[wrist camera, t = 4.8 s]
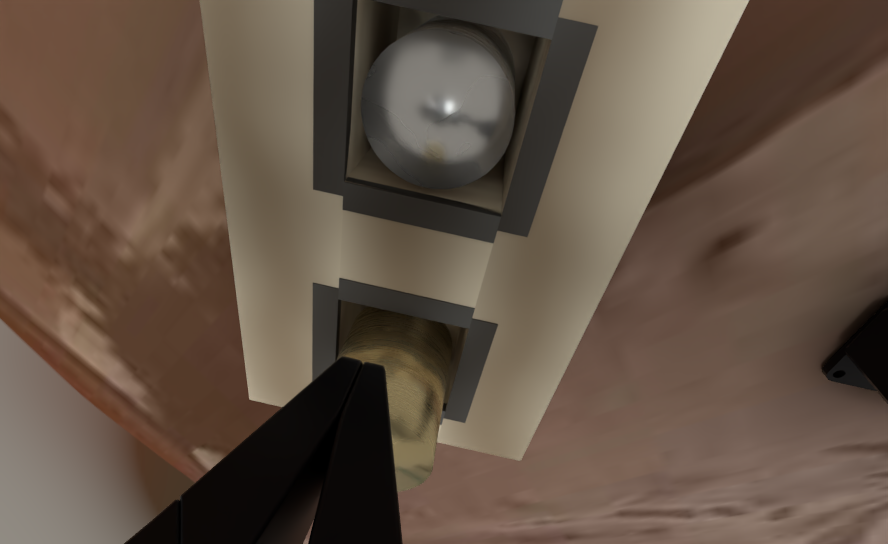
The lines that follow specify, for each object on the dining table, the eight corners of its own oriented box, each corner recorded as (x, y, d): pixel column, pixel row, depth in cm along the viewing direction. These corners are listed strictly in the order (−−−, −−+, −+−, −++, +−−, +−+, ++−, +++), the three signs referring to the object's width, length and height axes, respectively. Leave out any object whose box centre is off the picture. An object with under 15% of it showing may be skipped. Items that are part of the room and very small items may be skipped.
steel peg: (529, 25, 14) (534, 50, 10) (498, 144, 17) (493, 203, 13) (408, -1, 14) (366, 13, 10) (395, 121, 17) (356, 172, 13)
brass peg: (461, 313, 16) (443, 430, 12) (443, 384, 19) (422, 503, 14) (355, 289, 16) (301, 398, 12) (349, 363, 19) (303, 475, 15)
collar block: (679, -41, 14) (771, -44, 9) (519, 360, 24) (520, 462, 19) (298, -124, 14) (176, -173, 9) (303, 311, 24) (249, 400, 19)
